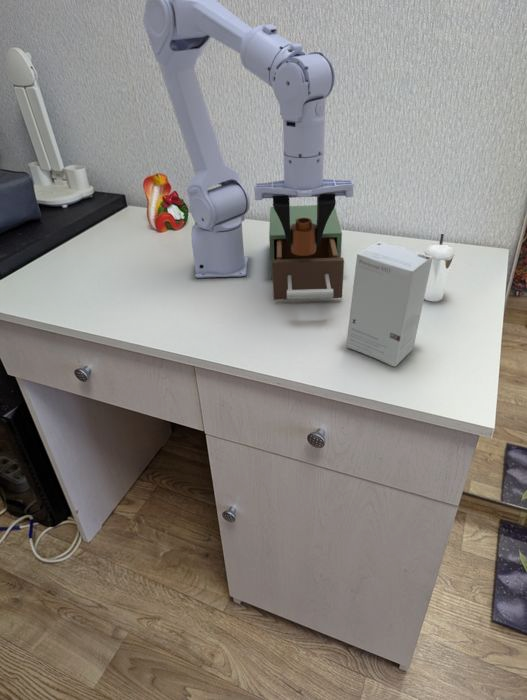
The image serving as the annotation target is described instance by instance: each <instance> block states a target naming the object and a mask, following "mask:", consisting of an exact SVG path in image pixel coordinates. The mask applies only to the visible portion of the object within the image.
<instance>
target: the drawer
mask: <svg viewBox="0 0 527 700" xmlns="http://www.w3.org/2000/svg"><path fill="white" fill-rule="evenodd" d="M344 266H345V259H344V257H341V258H338V253H337V249H336V245H335V240H334V237H329V238H322V239H321V244H316V252H315V253H314V254H312V255H308V256H299V255H295V254H293V253H292V252H291V245H287V241H286V239H277V260H272V268H273V280H272V288H273V289H272V291H273V292H272V293H273V300H274V301H277V300H279V301H280V300H282V301H283V300H314V299H319V300H320V299H342V298H343V290H344V289H343V285H344V268H345V267H344Z"/></svg>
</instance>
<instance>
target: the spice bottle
mask: <svg viewBox="0 0 527 700" xmlns="http://www.w3.org/2000/svg"><path fill="white" fill-rule="evenodd" d="M316 236H317V226H316V225H315V224H314V223H312V221H311V219H309V218H298V219H297V220H296V223H295V224H293V225H291V252H292V253H293V254H295V255H299V256H308V255H312V254H314V253H315V252H316Z"/></svg>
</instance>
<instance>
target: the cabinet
mask: <svg viewBox="0 0 527 700" xmlns="http://www.w3.org/2000/svg"><path fill="white" fill-rule="evenodd" d="M269 209H270V210H269V228H268V229H269V231H268V232H269V233H268V235H269V236H268V237H269V238H268V239H269V241H268V242H269V259H270V260H269V262H270V263H269V265H270V280H272V281H273V268H272V260H277V239H286V236H285V232H284V229H283V226H282V224H281V221H280V219H279V217H278V215H277V213H276V212H275V210H274V207H273V206H270V207H269ZM298 218H309V219H311V221H312V223H314V224H315V225H317V204H315V205H290V228H291V225H293V224H295V223H296V220H297V219H298ZM329 237H334V240H335V245H336V249H337V253H338V258H342V243H343V242H342V241H343V239H342V238H343V232H342V228H341V224H340V220H339V217H338V213H337V209H336V206H335V207H334V209H333V211H332V213H331V215H330V216H329V219H328V221H327V223H326V225H325V228H324V231H323V235H322V238H329Z"/></svg>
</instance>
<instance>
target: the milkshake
mask: <svg viewBox="0 0 527 700" xmlns="http://www.w3.org/2000/svg"><path fill="white" fill-rule="evenodd" d="M444 237H445V233H442V232H441V233H440V237H439V243H438V244H437V243H436V244H431V245H429V246H428V247H427V248H425V250H424V255H428V256H431V257H432V263H431V268H430V273H429V277H428V282H427V287H426V291H425V296H424V300H425V301H427V302H431V303H432V302H433V303H434V302H440V301H441V300H443V297H444V294H445V293H444V292H445V289H446V285H447V283H448V278H449V274H450V271H451V268H452V265H453V262H454V259H455V256H456V251H455V249H454V248H453V247H452V246H450V245H447V244H444Z"/></svg>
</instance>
